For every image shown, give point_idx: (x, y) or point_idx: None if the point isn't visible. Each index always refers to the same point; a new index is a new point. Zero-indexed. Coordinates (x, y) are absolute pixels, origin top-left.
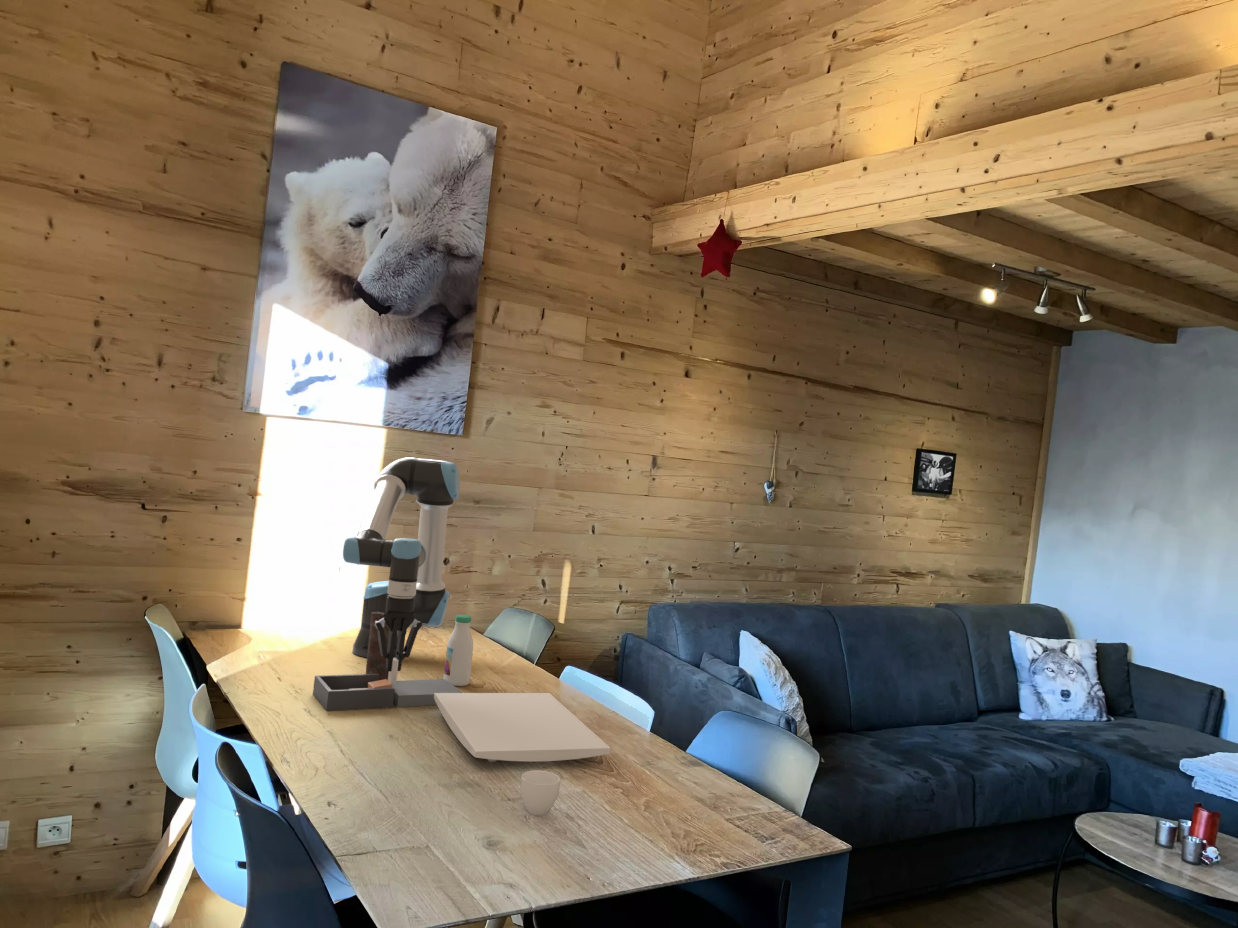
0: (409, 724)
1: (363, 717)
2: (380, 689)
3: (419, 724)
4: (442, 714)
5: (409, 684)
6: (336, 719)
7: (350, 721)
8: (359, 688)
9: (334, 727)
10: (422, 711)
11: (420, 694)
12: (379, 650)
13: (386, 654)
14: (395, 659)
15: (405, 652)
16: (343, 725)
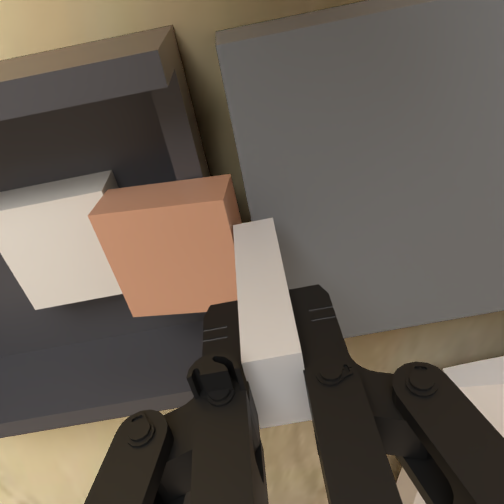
0: (280, 457)
1: (122, 418)
2: (173, 407)
3: (313, 455)
4: (401, 471)
5: (406, 133)
6: (25, 439)
7: (79, 450)
8: (46, 203)
9: (36, 488)
10: (366, 352)
11: (397, 326)
12: None
13: (184, 496)
14: (287, 401)
15: (411, 449)
16: (62, 476)
